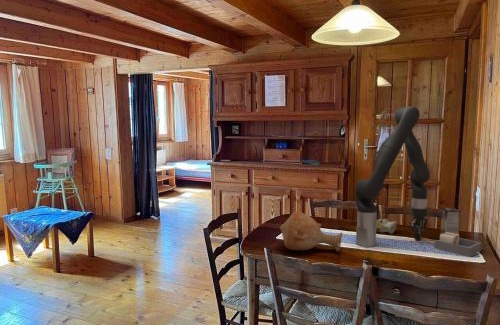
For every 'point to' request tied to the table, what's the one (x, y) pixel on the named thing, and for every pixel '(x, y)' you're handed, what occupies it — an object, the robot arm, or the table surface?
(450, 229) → the coffee box
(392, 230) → the ceramic sculpture
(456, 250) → the gray tray
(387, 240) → the table surface
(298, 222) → the jug
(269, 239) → the table surface
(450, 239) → the wooden mallet
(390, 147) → the robot arm
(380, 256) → the table surface
